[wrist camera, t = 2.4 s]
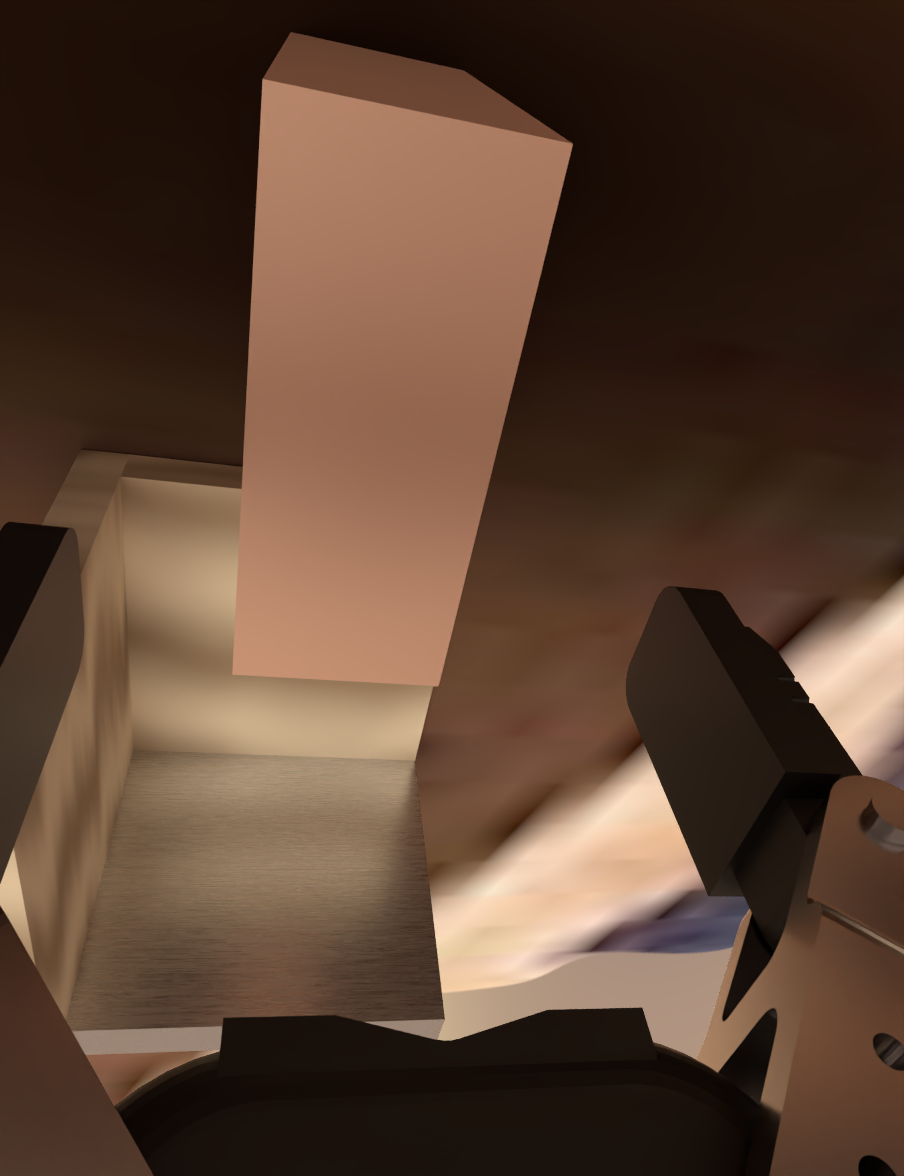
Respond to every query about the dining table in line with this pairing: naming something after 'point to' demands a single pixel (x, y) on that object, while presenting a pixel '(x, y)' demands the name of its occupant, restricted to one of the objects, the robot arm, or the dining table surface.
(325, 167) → the terracotta book
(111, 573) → the plywood shelf
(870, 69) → the dining table surface
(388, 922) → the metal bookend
